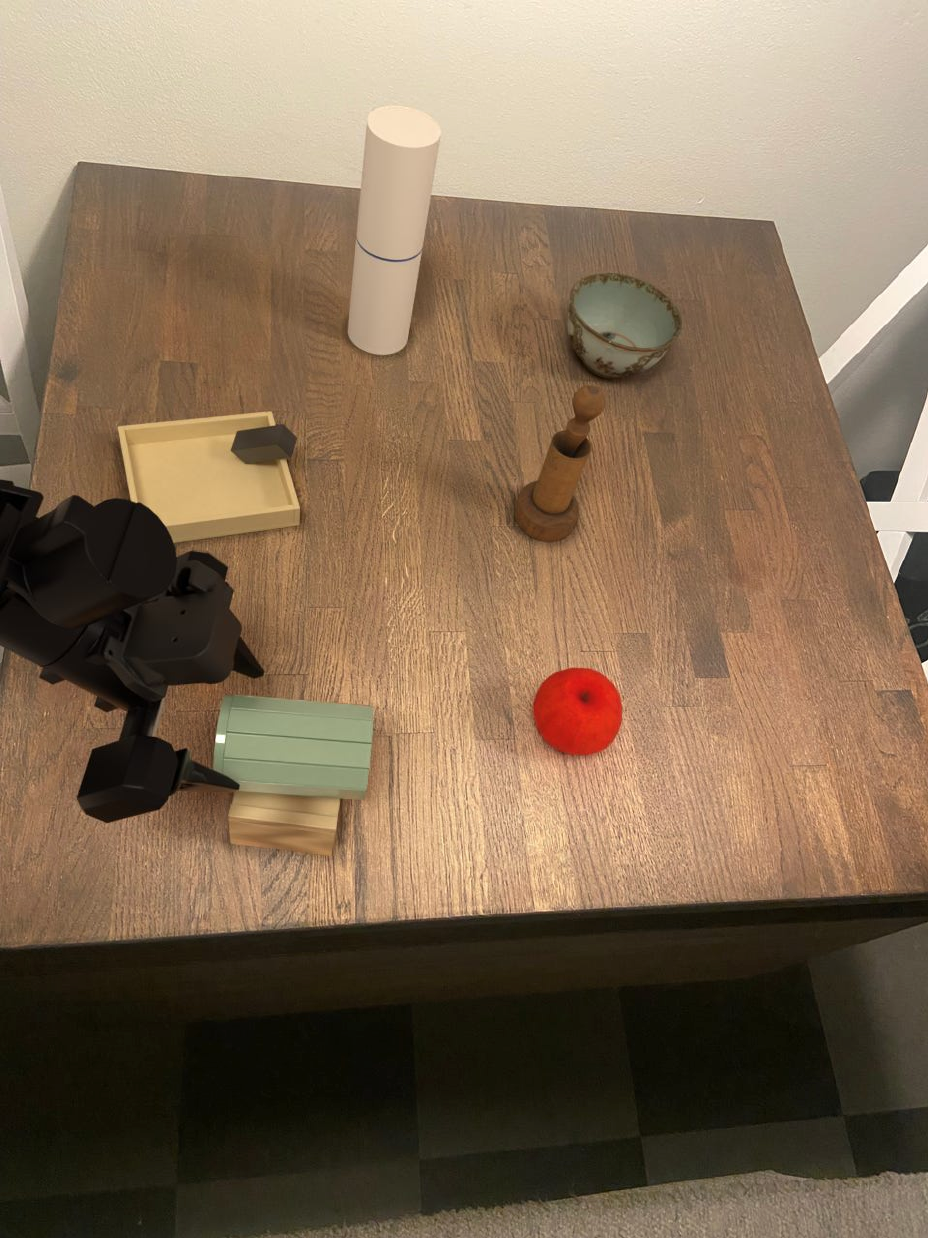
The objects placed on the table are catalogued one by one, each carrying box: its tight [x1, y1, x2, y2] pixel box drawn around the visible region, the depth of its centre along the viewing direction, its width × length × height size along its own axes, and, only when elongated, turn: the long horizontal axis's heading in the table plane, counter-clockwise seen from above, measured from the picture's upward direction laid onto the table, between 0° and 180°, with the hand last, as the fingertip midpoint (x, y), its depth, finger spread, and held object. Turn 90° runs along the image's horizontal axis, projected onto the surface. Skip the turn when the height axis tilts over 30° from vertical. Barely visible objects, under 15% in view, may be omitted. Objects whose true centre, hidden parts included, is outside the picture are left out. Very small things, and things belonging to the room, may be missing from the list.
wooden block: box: [227, 791, 341, 857], centre depth 73 cm, size 8×10×6 cm
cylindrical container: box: [347, 105, 442, 356], centre depth 98 cm, size 7×7×25 cm
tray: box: [117, 410, 301, 544], centre depth 90 cm, size 15×13×3 cm
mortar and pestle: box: [513, 384, 606, 543], centre depth 90 cm, size 7×6×18 cm
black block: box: [231, 423, 298, 464], centre depth 91 cm, size 6×2×2 cm
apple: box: [532, 667, 624, 756], centre depth 80 cm, size 8×8×7 cm
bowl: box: [566, 272, 683, 379], centre depth 110 cm, size 14×13×8 cm
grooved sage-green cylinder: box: [212, 693, 374, 801], centre depth 69 cm, size 11×7×7 cm, turn 90°
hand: (248, 730), depth 66 cm, fingers open, 9 cm apart
